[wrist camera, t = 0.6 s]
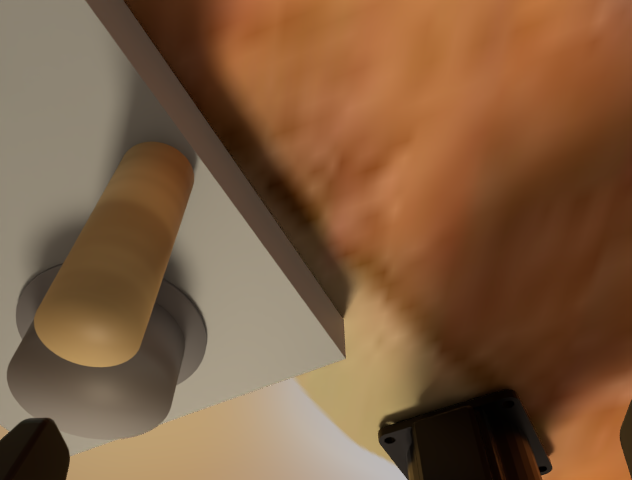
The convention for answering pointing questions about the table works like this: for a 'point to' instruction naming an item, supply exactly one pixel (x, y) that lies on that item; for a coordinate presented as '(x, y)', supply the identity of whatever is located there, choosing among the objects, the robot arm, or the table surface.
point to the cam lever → (111, 309)
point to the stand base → (93, 177)
